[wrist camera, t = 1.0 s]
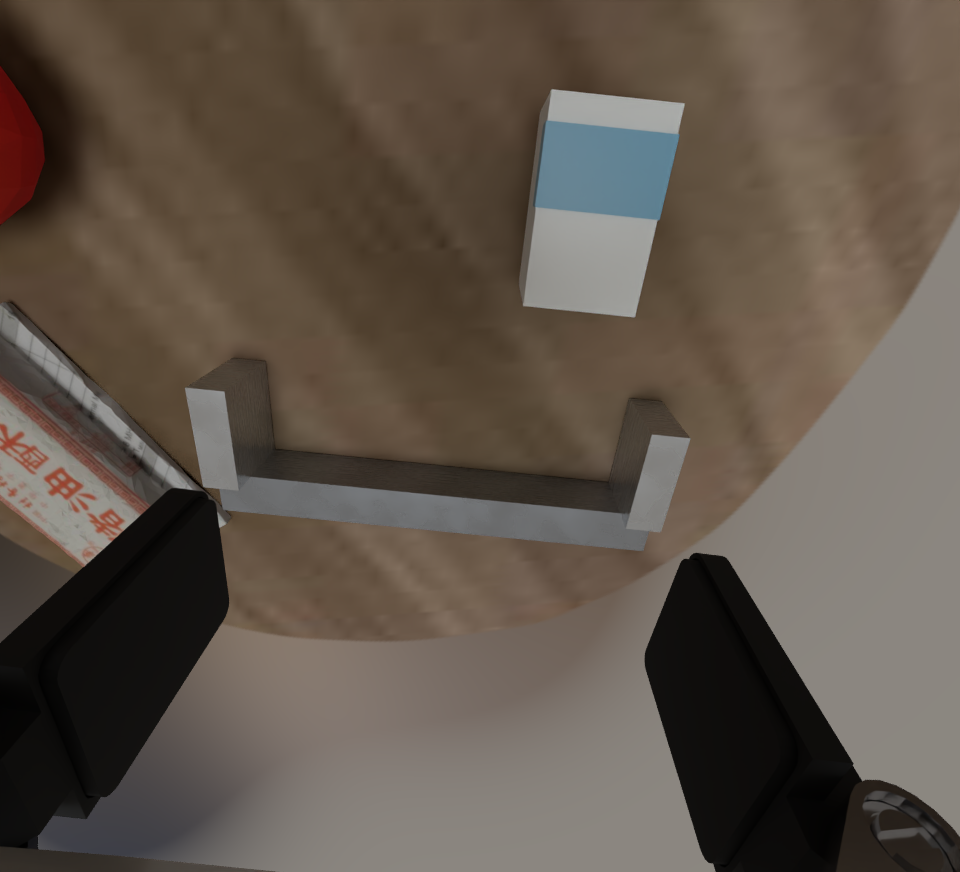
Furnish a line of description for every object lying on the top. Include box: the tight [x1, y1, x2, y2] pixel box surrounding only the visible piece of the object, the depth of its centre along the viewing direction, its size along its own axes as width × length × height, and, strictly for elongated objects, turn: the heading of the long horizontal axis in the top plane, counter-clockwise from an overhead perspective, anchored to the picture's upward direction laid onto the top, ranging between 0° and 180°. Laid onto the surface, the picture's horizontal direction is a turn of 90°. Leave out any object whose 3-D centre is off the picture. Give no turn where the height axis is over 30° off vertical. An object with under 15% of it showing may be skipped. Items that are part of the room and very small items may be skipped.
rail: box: [185, 358, 691, 551], centre depth 30 cm, size 9×26×5 cm, turn 85°
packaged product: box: [0, 302, 231, 567], centre depth 31 cm, size 18×5×10 cm
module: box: [519, 89, 685, 317], centre depth 23 cm, size 8×5×6 cm, turn 175°
